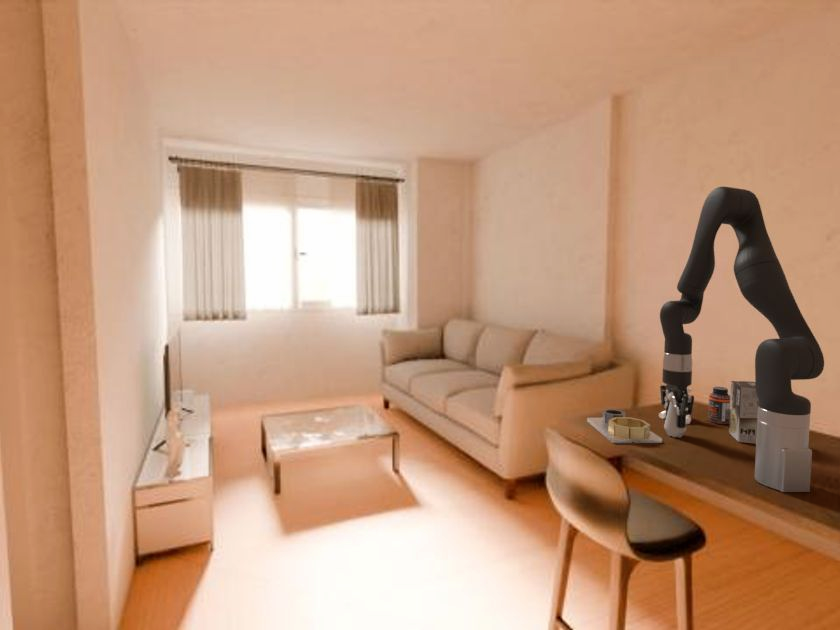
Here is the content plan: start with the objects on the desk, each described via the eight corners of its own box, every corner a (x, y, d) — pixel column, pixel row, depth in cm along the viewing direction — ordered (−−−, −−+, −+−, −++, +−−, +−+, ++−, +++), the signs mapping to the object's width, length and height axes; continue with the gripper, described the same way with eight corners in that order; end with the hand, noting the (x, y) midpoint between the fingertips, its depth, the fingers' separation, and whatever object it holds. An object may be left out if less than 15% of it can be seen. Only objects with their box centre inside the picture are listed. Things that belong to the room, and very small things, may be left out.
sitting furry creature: (657, 418, 152) (659, 383, 151) (667, 413, 158) (668, 379, 157) (689, 424, 145) (690, 387, 144) (698, 419, 151) (699, 383, 150)
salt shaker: (689, 439, 132) (690, 395, 131) (667, 438, 134) (669, 394, 133) (681, 432, 138) (683, 390, 137) (661, 431, 139) (662, 389, 138)
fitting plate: (662, 442, 130) (662, 428, 130) (612, 443, 130) (613, 428, 130) (629, 420, 150) (630, 408, 149) (587, 421, 150) (587, 408, 149)
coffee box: (764, 445, 128) (767, 388, 126) (737, 442, 130) (740, 386, 128) (752, 434, 136) (755, 381, 135) (727, 432, 138) (730, 379, 137)
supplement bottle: (703, 420, 150) (704, 386, 149) (717, 418, 152) (718, 385, 151) (720, 425, 144) (721, 390, 143) (734, 423, 146) (736, 389, 145)
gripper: (705, 373, 127) (702, 432, 128) (676, 363, 141) (674, 416, 143) (678, 373, 127) (676, 432, 128) (652, 363, 141) (650, 417, 143)
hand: (675, 424), depth 136 cm, fingers open, 5 cm apart
